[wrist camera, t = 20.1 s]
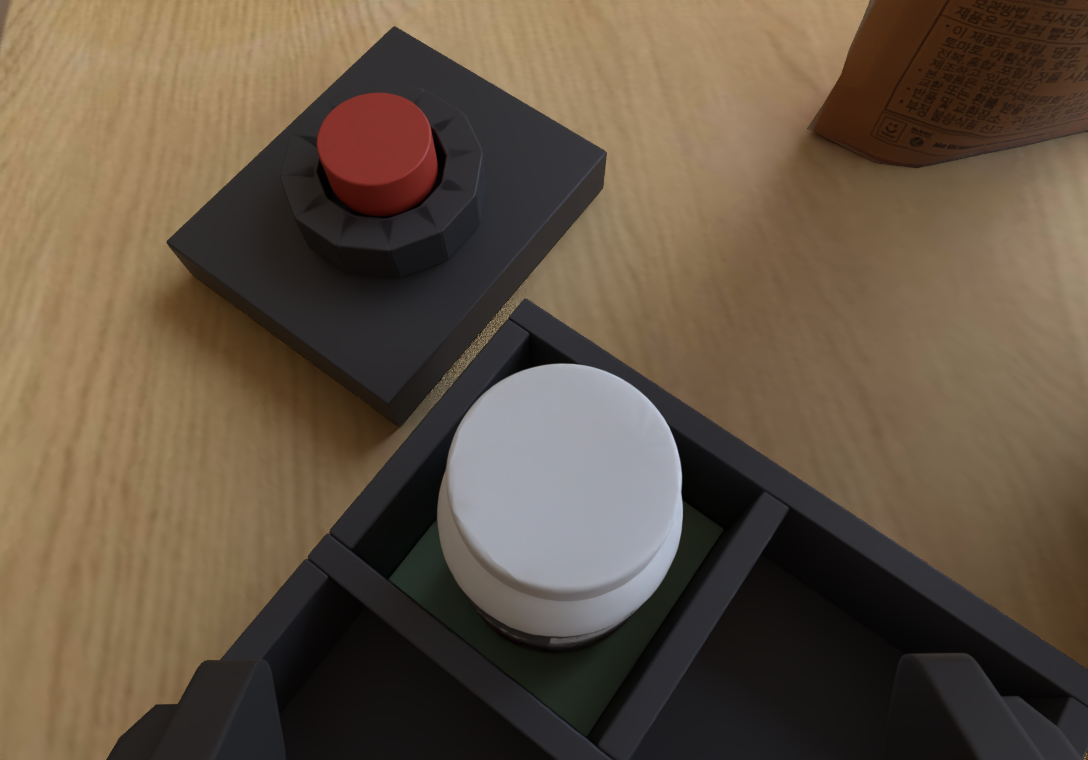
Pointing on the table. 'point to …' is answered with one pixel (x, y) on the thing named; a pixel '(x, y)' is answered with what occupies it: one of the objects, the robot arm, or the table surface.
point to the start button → (378, 154)
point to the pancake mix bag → (959, 79)
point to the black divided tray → (650, 633)
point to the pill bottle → (560, 506)
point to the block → (395, 229)
